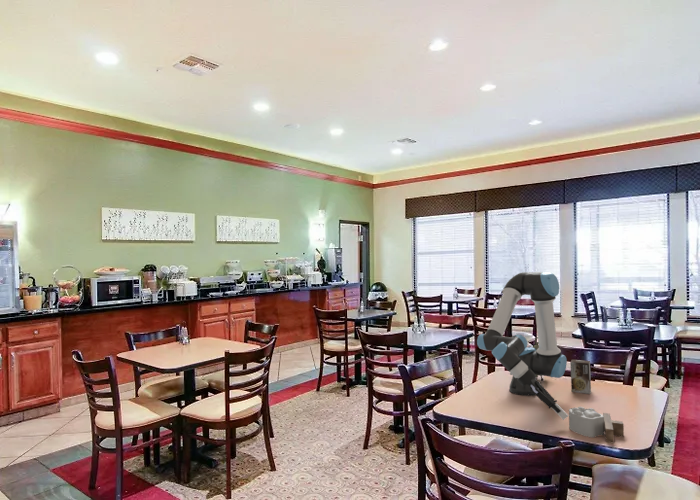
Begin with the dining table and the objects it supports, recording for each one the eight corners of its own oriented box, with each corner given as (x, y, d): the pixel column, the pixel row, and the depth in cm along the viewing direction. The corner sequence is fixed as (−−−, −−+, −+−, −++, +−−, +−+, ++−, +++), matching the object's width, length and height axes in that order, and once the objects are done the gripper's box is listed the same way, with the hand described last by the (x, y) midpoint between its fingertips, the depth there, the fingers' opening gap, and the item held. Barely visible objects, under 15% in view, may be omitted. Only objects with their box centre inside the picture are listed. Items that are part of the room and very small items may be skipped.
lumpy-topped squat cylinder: (589, 438, 176) (588, 415, 176) (562, 427, 188) (561, 406, 188) (608, 434, 180) (607, 412, 180) (580, 423, 192) (580, 403, 192)
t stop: (606, 441, 172) (605, 428, 172) (603, 424, 190) (603, 412, 190) (625, 444, 169) (625, 431, 169) (621, 427, 187) (620, 415, 187)
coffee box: (591, 391, 239) (590, 360, 239) (590, 394, 233) (589, 363, 234) (572, 388, 243) (571, 359, 244) (570, 391, 238) (570, 361, 238)
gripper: (518, 375, 203) (559, 418, 195) (514, 382, 191) (558, 428, 183) (530, 364, 200) (572, 407, 192) (527, 371, 189) (572, 417, 181)
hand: (565, 417), depth 188 cm, fingers closed
